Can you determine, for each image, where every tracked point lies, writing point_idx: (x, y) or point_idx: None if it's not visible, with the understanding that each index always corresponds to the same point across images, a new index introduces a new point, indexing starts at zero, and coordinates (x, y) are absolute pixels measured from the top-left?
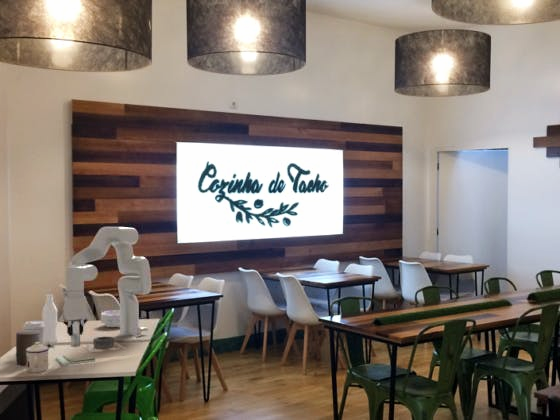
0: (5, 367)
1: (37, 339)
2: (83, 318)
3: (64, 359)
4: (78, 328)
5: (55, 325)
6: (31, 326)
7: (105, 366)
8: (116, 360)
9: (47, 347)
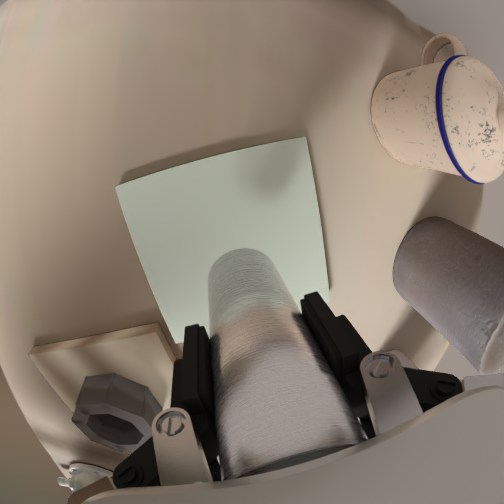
0: (479, 212)
1: (480, 288)
2: (141, 495)
3: (296, 235)
4: (232, 362)
5: None
6: None
7: (74, 72)
8: (26, 190)
9: (451, 98)
